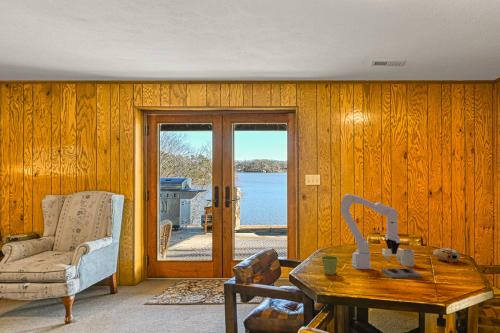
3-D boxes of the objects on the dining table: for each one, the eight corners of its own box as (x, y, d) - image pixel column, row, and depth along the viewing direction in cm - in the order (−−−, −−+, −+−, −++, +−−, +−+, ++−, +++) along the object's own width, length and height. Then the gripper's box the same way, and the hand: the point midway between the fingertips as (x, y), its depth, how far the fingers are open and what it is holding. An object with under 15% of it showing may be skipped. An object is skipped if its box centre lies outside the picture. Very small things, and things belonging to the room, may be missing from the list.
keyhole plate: (391, 278, 178) (391, 275, 178) (381, 271, 190) (381, 268, 190) (421, 277, 179) (421, 274, 179) (409, 271, 191) (409, 268, 191)
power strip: (384, 259, 192) (384, 249, 192) (382, 257, 196) (382, 248, 196) (403, 258, 193) (403, 249, 193) (400, 257, 196) (400, 247, 197)
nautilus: (461, 268, 198) (433, 266, 205) (460, 258, 217) (433, 256, 224) (460, 255, 198) (432, 253, 205) (459, 245, 216) (432, 244, 224)
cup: (412, 267, 198) (411, 252, 198) (394, 264, 205) (394, 249, 205) (415, 265, 203) (415, 250, 204) (398, 262, 210) (398, 247, 210)
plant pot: (329, 277, 181) (328, 260, 181) (317, 272, 189) (317, 256, 189) (342, 274, 185) (342, 258, 185) (330, 270, 194) (330, 255, 194)
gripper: (405, 231, 188) (405, 255, 187) (393, 227, 202) (393, 250, 202) (392, 231, 187) (393, 256, 187) (381, 227, 202) (381, 250, 202)
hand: (392, 253), depth 194 cm, fingers closed on power strip, 4 cm apart
